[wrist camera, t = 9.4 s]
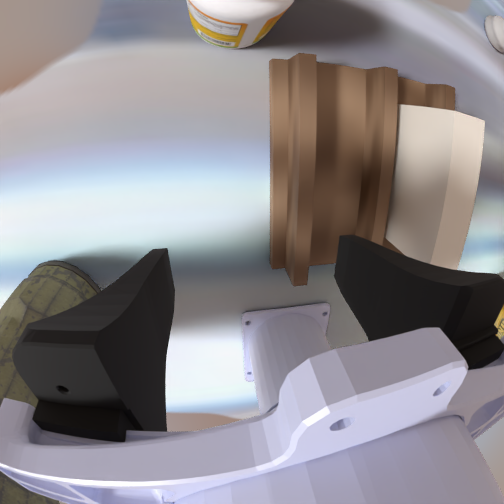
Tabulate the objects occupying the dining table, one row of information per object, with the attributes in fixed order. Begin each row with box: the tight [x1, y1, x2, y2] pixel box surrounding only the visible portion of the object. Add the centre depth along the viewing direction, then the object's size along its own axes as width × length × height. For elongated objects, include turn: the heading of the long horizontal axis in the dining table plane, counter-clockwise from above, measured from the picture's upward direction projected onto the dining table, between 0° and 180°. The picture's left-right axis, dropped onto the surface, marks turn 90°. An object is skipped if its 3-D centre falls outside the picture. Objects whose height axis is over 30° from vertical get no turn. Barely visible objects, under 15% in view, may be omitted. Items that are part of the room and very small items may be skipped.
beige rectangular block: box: [384, 104, 485, 270], centre depth 17 cm, size 10×3×7 cm, turn 1°
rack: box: [269, 53, 455, 286], centre depth 19 cm, size 15×13×4 cm
